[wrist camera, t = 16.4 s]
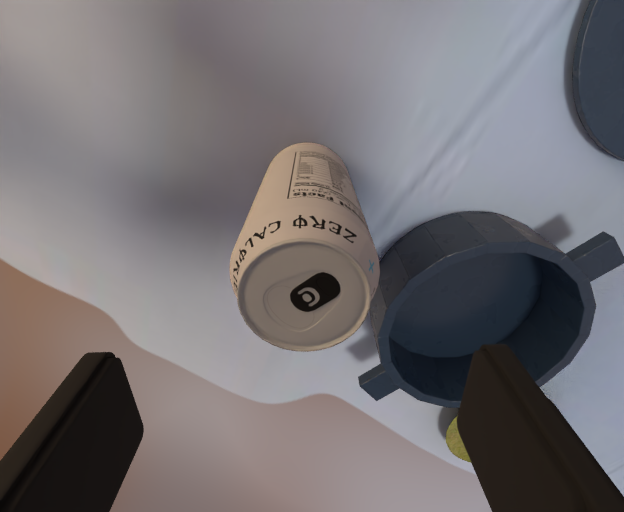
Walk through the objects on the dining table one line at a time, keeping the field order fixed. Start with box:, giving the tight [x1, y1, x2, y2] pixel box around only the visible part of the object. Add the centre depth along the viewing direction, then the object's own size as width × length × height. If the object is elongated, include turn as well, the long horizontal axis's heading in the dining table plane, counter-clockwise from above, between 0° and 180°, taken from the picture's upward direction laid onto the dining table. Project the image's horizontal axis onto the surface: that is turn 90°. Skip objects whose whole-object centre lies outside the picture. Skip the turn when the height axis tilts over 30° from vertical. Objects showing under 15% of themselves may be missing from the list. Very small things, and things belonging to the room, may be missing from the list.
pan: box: [358, 212, 624, 408], centre depth 28 cm, size 15×21×6 cm
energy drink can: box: [230, 142, 380, 352], centre depth 19 cm, size 6×6×15 cm
